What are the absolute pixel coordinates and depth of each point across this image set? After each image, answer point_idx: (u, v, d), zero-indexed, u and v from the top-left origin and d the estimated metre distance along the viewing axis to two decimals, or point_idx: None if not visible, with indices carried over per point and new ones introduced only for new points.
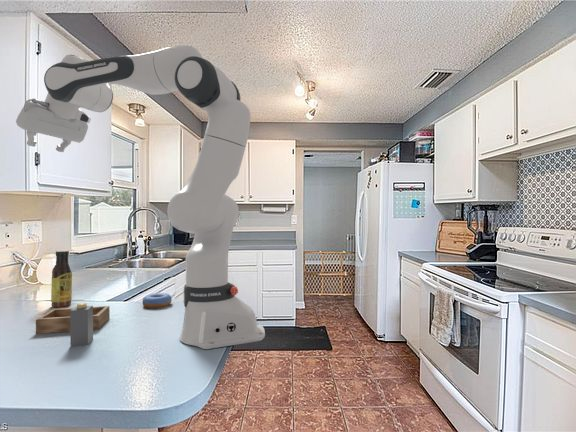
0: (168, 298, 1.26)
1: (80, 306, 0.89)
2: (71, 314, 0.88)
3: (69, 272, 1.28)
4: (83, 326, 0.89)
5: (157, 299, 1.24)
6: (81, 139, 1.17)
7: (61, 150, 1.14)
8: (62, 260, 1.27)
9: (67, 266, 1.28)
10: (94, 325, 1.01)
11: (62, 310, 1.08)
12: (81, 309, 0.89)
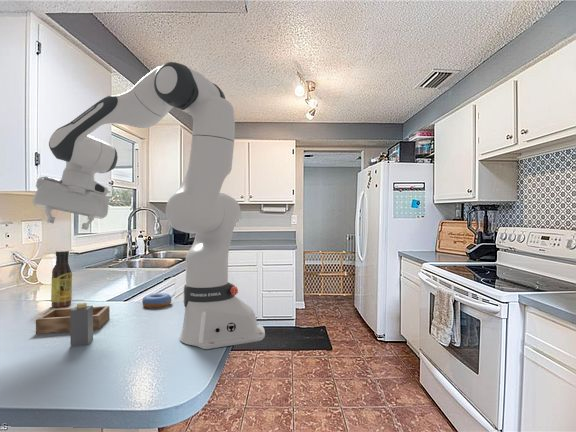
0: (168, 298, 1.26)
1: (80, 306, 0.89)
2: (71, 314, 0.88)
3: (69, 272, 1.28)
4: (83, 326, 0.89)
5: (157, 299, 1.24)
6: (104, 213, 1.15)
7: (85, 226, 1.11)
8: (62, 260, 1.27)
9: (67, 266, 1.28)
10: (94, 325, 1.01)
11: (62, 310, 1.08)
12: (81, 309, 0.89)
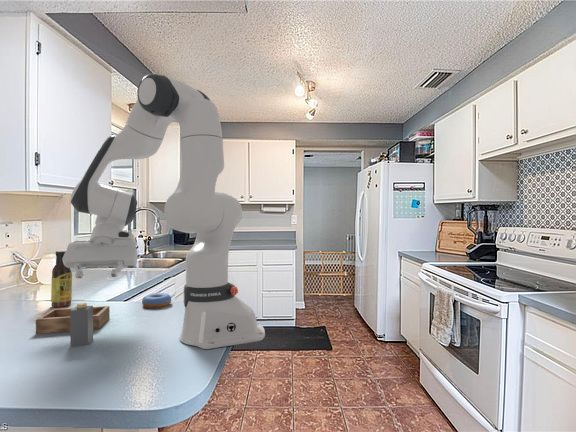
0: (168, 298, 1.26)
1: (80, 306, 0.89)
2: (71, 314, 0.88)
3: (69, 272, 1.28)
4: (83, 326, 0.89)
5: (157, 299, 1.24)
6: (131, 255, 1.07)
7: (113, 272, 1.03)
8: None
9: None
10: (94, 325, 1.01)
11: (62, 310, 1.08)
12: (81, 309, 0.89)
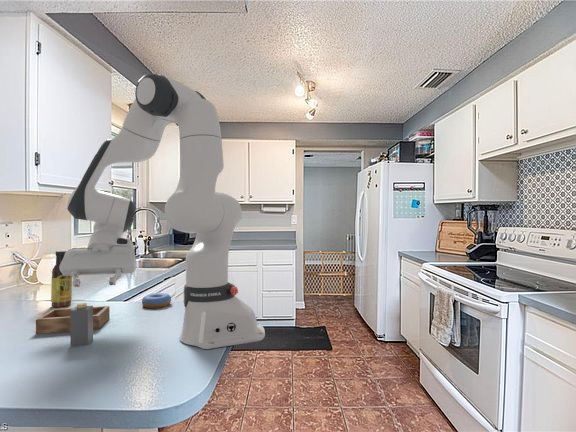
0: (167, 298, 1.26)
1: (80, 306, 0.89)
2: (71, 314, 0.88)
3: None
4: (83, 326, 0.89)
5: (156, 299, 1.24)
6: (130, 262, 1.05)
7: (111, 280, 1.01)
8: None
9: None
10: (94, 325, 1.01)
11: (62, 310, 1.08)
12: (81, 309, 0.89)
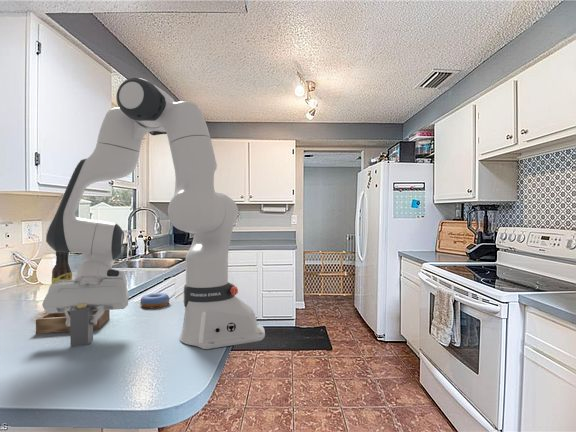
0: (166, 298, 1.27)
1: (80, 306, 0.89)
2: (71, 314, 0.88)
3: (69, 272, 1.28)
4: (83, 326, 0.89)
5: (155, 299, 1.24)
6: (121, 297, 0.95)
7: (91, 319, 0.90)
8: (62, 260, 1.27)
9: (67, 266, 1.28)
10: (94, 325, 1.01)
11: None
12: (81, 309, 0.89)
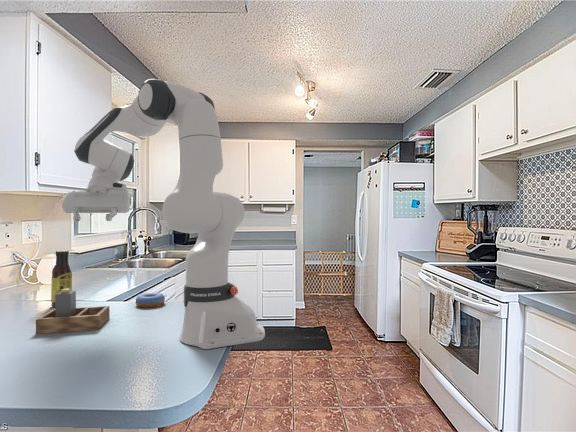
0: (161, 298, 1.27)
1: (64, 291, 1.03)
2: (56, 297, 1.02)
3: (69, 272, 1.28)
4: (67, 308, 1.02)
5: (150, 298, 1.24)
6: (124, 202, 1.18)
7: (107, 216, 1.14)
8: (62, 260, 1.27)
9: (67, 266, 1.28)
10: (94, 325, 1.01)
11: None
12: (65, 293, 1.03)
